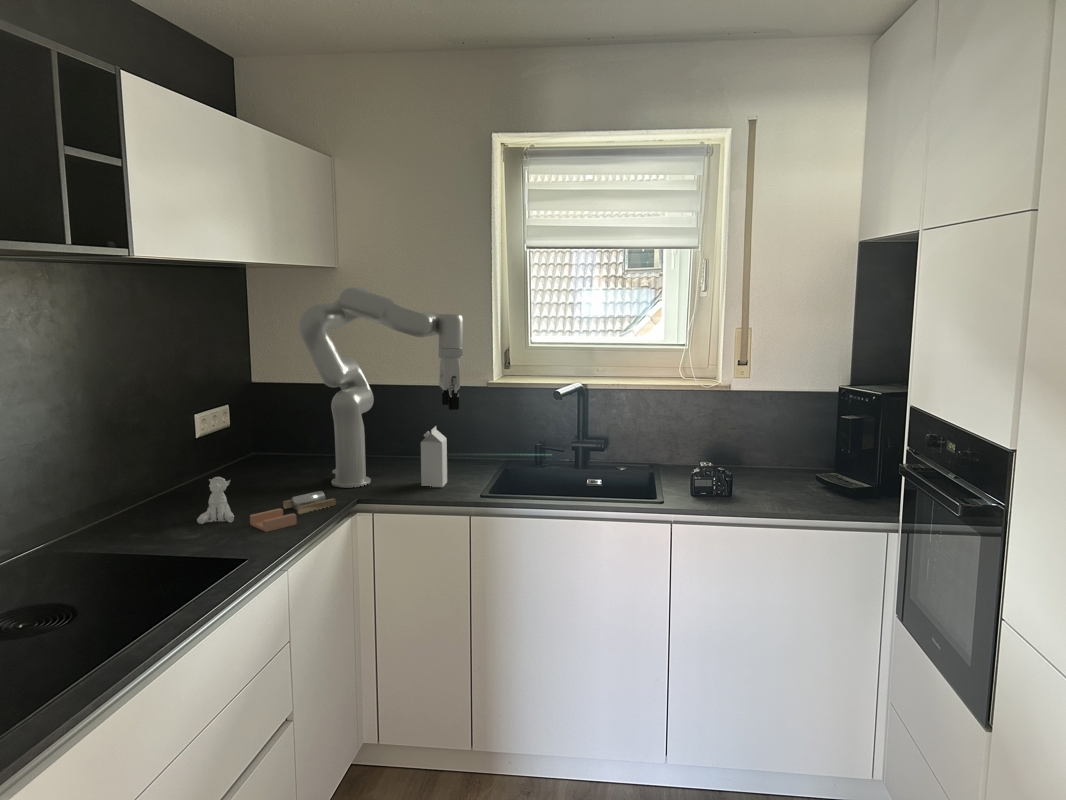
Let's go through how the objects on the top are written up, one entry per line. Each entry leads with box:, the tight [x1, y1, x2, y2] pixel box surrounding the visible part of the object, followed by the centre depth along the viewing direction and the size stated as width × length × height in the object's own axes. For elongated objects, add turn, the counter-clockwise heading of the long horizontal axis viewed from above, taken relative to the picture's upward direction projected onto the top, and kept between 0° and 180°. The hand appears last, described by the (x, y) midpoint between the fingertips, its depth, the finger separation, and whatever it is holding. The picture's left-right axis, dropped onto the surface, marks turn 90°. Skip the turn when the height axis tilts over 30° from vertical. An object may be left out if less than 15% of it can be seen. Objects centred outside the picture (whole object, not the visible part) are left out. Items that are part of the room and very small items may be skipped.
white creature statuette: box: [196, 476, 235, 525], centre depth 214 cm, size 10×9×12 cm
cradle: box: [249, 507, 298, 533], centre depth 210 cm, size 9×9×3 cm
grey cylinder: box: [290, 490, 326, 511], centre depth 227 cm, size 9×4×4 cm, turn 137°
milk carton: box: [420, 425, 448, 488], centre depth 252 cm, size 7×7×19 cm
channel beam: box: [282, 498, 337, 515], centre depth 227 cm, size 9×12×2 cm
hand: (450, 407), depth 244 cm, fingers open, 9 cm apart
